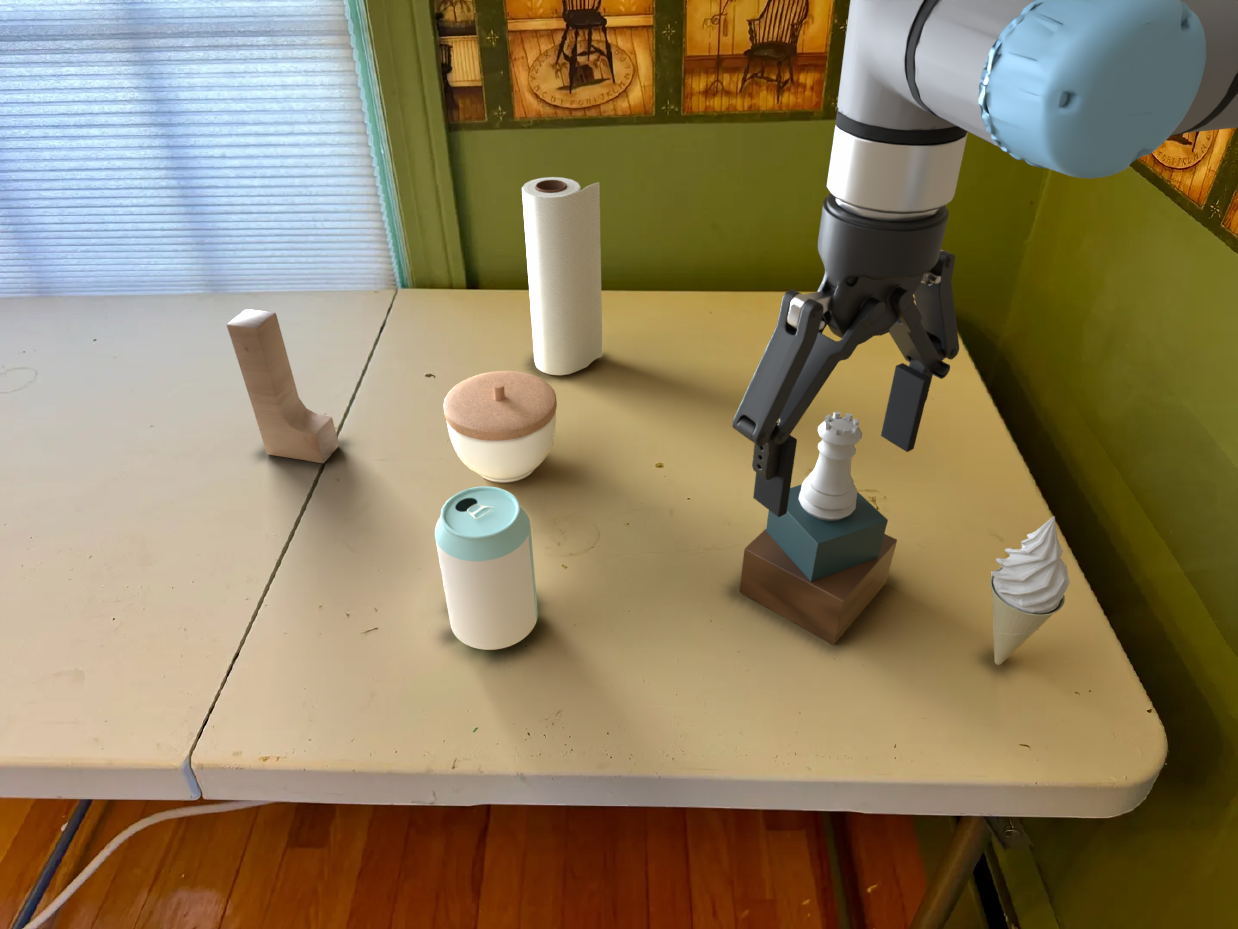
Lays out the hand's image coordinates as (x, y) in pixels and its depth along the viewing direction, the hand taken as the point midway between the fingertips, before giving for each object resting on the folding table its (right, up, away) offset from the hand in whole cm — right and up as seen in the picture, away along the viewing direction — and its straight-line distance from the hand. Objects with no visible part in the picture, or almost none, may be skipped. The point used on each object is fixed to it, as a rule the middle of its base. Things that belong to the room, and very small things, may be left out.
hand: (836, 473), depth 66 cm
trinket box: (-28, +1, +22) cm, 35 cm away
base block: (0, -10, +8) cm, 13 cm away
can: (-27, -12, +5) cm, 30 cm away
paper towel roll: (-23, +12, +37) cm, 45 cm away
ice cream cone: (+13, -15, +1) cm, 20 cm away
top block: (0, -6, +5) cm, 8 cm away
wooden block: (-49, +2, +24) cm, 54 cm away
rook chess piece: (0, -3, +3) cm, 4 cm away
